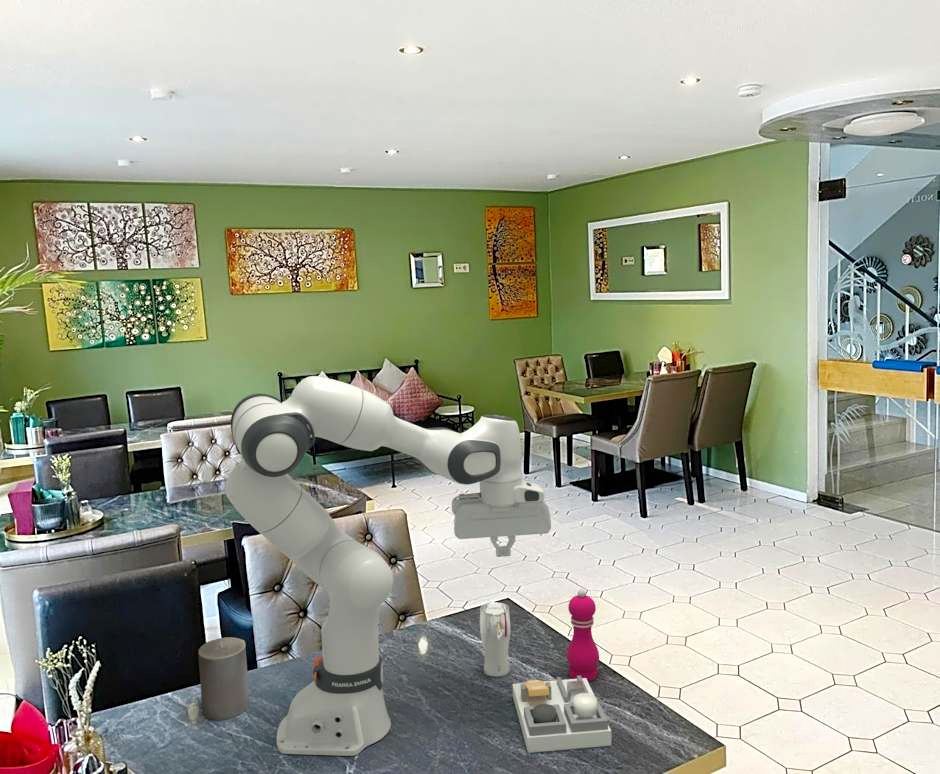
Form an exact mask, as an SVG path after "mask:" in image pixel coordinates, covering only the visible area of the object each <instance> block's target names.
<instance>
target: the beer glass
mask: <svg viewBox="0 0 940 774" xmlns="http://www.w3.org/2000/svg"><path fill="white" fill-rule="evenodd" d="M479 608H480V611H479V632H480V638H481V642H482V643H481V644H482V646H483V653H484V662H483V673H484V674H485V675H487V676H489V677H493V678H494V677H495V678H498V677H499V678H500V677H505V676H507V675H508V674H509V673H510V671H511V666H510V662H509V656H508V655H509V653H508V652H509V645H510V639H511V616H510V614H511V613H510V607H509V605H508V604H507V603H504V602H497V601H495V602H494V601H493V602H492V601H491V602H488V603H484V604H482V605H481V606H480V607H479Z"/></svg>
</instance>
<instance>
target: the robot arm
mask: <svg viewBox="0 0 940 774" xmlns="http://www.w3.org/2000/svg"><path fill="white" fill-rule="evenodd" d="M230 430H231V434H232V437H233V441H234V445H235V449H236V452H237V454H239V455H240V461H239V462H238V464H237V465H236V466H235V467H234V468H233V469H232V470H231V472H230V473H229V474H228V477H227V478H226V481H225V486H224V491H225V495H226V497H227V499H228V500H229V502H230V503H231V505H232V506H233V507H234V509H235V510H236V511H237V512H238V513H239V515H241V517H243V519H244V520H246V521H247V523H248V524H249V525H250V526H251V527H252V528H254V529H255V531H257V532H258V533H259V534H260V535H261V536H263V538H265V539H266V541H267V540H268V541H269V543H270V544H272V545H273V546H274V547H275V548H276V549H278V550H279V551H280V552H281V553H282V554H283V555H285V556H286V557H287V558H288V559H289V560H290V561H291V562H292V563H293V564H294V565H296V567H297V568H298V569H300V570H301V571H302V572H303V573H304V574H305V575H306V576H307V577H308V578H310V579H311V580H312V581H313V582H314V583H315V584H316V585H318V586H320V588H322V589H324V590H325V591H326V593H327V595H328V599H329V606H328V607H329V608H328V609H329V610H328V614H327V618H326V619H324V621H323V623H322V626H321V628H320V629H321V630H320V632H321V650H322V656H320V655H318V656H316V657H315V658H313V659H314V660H313V664H312V667H313V673H312V674H313V681H312V682H311V683H309V684H308V685H306V686H305V687H304V688H303V689H301V690H300V691H298V693H296V695H295V696H294V698H293V699H292V701H291V703H290V705H289V708H288V713H287V715H286V716H284V717H283V718H282V721H281V722H280V723H279V726H278V728H277V732H276V741H275V743H276V748H277V750H278V752H280V753H281V754H284V755H285V754H286V755H311V756H312V755H313V756H339V757H341V756H342V757H343V756H344V757H345V756H346V757H348V756H349V757H350V756H351V757H354V756H356V755H359V754H360V753H361V752H362V751H363V750H364V749H365V748H367V747H369V746H370V745H372V744H375V743H376V742H378V741H380V740H382V739H383V738H384V737H385V736H386V735H387V734H388V733H389V731H390V730H391V726H392V722H391V718H390V716H389V714H388V710H387V706H386V702H385V697H384V690H383V685H384V671H383V670H384V669H383V668H384V667H383V663H382V657H381V655H380V650H379V649H380V648H379V628H378V627H379V618H380V611H381V609H382V608H381V607H382V604H384V602H385V601H386V600H387V599H389V596H390V594H391V593H392V589H393V588H394V587H393V586H394V573H393V570H392V568H391V566H390V565H389V564H388V562H387V561H386V560H385V559H384V558H383V557H382V555H380V554H379V553H378V552H377V551H375V550H373V549H371V548H369V547H367V545H364V544H363V543H362V542H361V543H360V542H359V541H357V540H356V539H355V538H353V537H352V536H350V535H349V534H347V532H345V531H344V530H343V529H342V528H341V527H340V526H339V525H338V523H336V521H335V520H334V519H333V517H332V516H330V513H329V512H328V510H327V509H326V508H324V507H323V505H322V504H320V503H319V502H318V501H317V500H316V499H315V498H314V497H313V496H311V495H310V493H308V492H307V490H306V489H304V488H303V486H301V485H300V484H299V483H298V482H297V481H296V480H294V478H292V477H291V476H290V475H289V473H291V472H292V471H293V470H294V469H295V468H297V467H298V465H299V464H300V463H301V462H302V460H303V458H304V457H305V455H306V453H308V451H309V450H310V449H311V448H312V447H313V445H314V444H315V441H316V438H321V439H324V440H327V441H330V442H332V443H335V444H337V445H341V446H344V447H346V448H351V449H355V450H360V451H365V452H366V451H367V452H373V451H375V450H378V449H379V448H380V447H386V448H389V449H392V450H394V451H397V452H399V453H403V454H406V455H409V456H411V457H412V458H414V459H415V460H416V461H417V462H418V463H419V465H421V466H422V467H423V468H424V469H425V470H426V471H428V472H429V473H430V474H433V475H437V476H440V477H442V478H445V479H447V480H450V481H452V482H454V483H456V484H458V485H459V484H460V485H467V486H469V485H472V484H477V483H479V492H471V493H460V494H458V495H457V496H455V497H454V498H453V499H452V500H451V511H452V513H453V515H454V521H453V532H454V536H455V537H456V538H457V539H459V540H467V539H468V540H469V539H483V538H489V539H490V542H491V544H492V545H493V547H494V548H495V556H496V557H497V558H500V557H502V558H503V557H511V554H512V553H511V552H512V551H511V549H512V547H513V546H514V545H515V542H516V536H527V535H528V536H529V535H543V534H544V535H546V534H548V533H550V531H551V530H552V521H551V514H550V509H549V506H548V504H547V502H546V501H545V498H546V497H545V491H544V489H543V488H542V486H540V485H539V484H537V483H534V482H530V481H526V480H523V474H522V471H521V460H522V443H521V432H520V428H519V425H518V423H517V421H516V420H515V419H514V418H512V417H510V416H506V415H500V414H492V413H490V414H484V415H482V416H480V419H479V420H478V421H477V422H476V423H474V424H473V426H471V427H470V428H468V429H467V430H465V431H463V432H457V431H455V430H453V429H450V428H448V427H443V426H442V427H440V426H439V427H428V428H426V427H422V426H419V425H416V424H414V423H412V422H410V421H409V422H408V421H407V420H403V419H401V418H400V417H397V416H395V415H394V411H393V409H392V406H391V405H390V404H389V403H388V402H387V401H385V400H384V399H382V398H380V397H379V396H377V395H376V394H374V393H371V391H368V390H365V389H363V388H360V387H358V386H355V385H353V384H350V383H347V382H345V381H344V382H343V381H340V380H337V379H332V378H329V377H322V376H318V375H311V376H307V377H305V378H303V379H301V381H300V382H298V384H297V385H296V386H295V387H294V389H293V390H292V393H291V395H290V396H289V397H288V398H287V399H285V400H283V401H281V400H280V399H279V398H277V397H276V396H273V395H271V394H267V393H262V392H261V393H252V394H249V395H247V396H245V397H243V398H242V399H241V400H239V401H238V402H237V404H236V405H235V406H234V409H233V410H232V413H231V417H230ZM500 537H507V539H508V542H507V543H506V545H501V546H499V544H498V543H497V542H499V538H500Z"/></svg>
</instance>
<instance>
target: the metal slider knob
mask: <svg viewBox="0 0 940 774" xmlns="http://www.w3.org/2000/svg"><path fill="white" fill-rule="evenodd" d="M580 693H585V687H584V685H583V683H582V681H569V682H567V694H568V698H569V701H570V703H574V696H575V695H577V694H580Z"/></svg>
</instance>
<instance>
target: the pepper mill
mask: <svg viewBox="0 0 940 774" xmlns="http://www.w3.org/2000/svg"><path fill="white" fill-rule="evenodd" d="M586 594H587V592H586V590H584V589H582V588H580V589H579V590H578V591H577V595H574V596H573V597H572V598H571V599H570V600H569V603H568V613H569V614H570V615H571V616H570V623H571V625H572V626H573V634H572V638H571V640H570V643H569V644H568V648H567V651H566V660H567V662H568V664H570V665H569V667H568V670H569V671H568V674H569V677H570V679H577V676H581V677H582V678H586V679H587V681H588V682H591V681H594V680H595V679H596V678H597V677H598V666H597V665H598V664H599V661H600V654H599V653H600V652H599V650H598V647H597V644H596V642H595V640H594V638H593V634H592V627H593V625H594V623H595V622H594V618H595V617H593V616H594V615H595V613H596V610H597V609H596V608H597V607H596V603H595V600H594V599H593V598H592V597H590V596H589V595H586Z"/></svg>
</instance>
